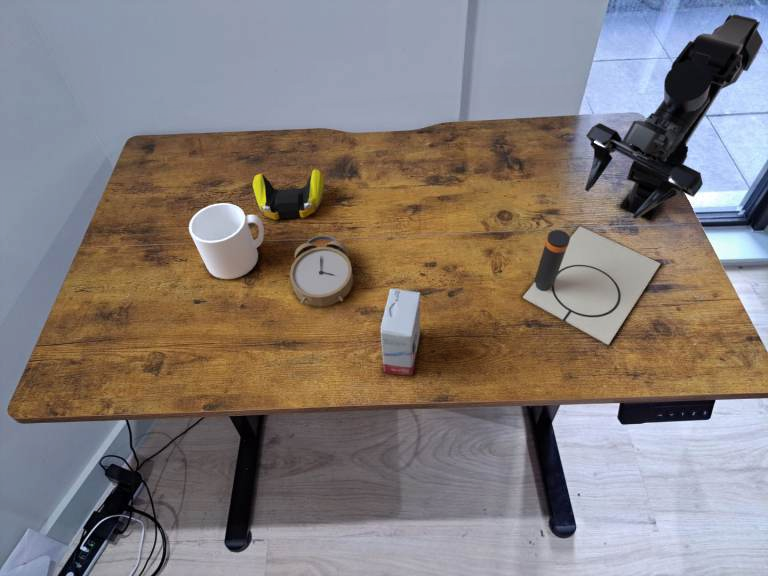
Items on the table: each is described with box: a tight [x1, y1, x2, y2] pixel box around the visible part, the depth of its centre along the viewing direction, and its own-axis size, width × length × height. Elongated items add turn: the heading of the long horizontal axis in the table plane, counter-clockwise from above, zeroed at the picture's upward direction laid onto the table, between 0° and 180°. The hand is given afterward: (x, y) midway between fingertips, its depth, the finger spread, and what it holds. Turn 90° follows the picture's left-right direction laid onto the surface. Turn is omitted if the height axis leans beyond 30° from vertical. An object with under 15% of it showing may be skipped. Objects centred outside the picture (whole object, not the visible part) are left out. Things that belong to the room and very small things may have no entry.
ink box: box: [380, 288, 421, 377], centre depth 80 cm, size 9×5×12 cm, turn 168°
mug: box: [188, 202, 265, 280], centre depth 95 cm, size 13×10×10 cm
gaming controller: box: [252, 168, 326, 221], centre depth 106 cm, size 15×6×10 cm
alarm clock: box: [289, 234, 354, 307], centre depth 94 cm, size 11×5×15 cm
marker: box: [534, 229, 571, 291], centre depth 87 cm, size 4×4×12 cm
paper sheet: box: [522, 226, 661, 346], centre depth 92 cm, size 22×16×1 cm
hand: (609, 204), depth 85 cm, fingers open, 9 cm apart
